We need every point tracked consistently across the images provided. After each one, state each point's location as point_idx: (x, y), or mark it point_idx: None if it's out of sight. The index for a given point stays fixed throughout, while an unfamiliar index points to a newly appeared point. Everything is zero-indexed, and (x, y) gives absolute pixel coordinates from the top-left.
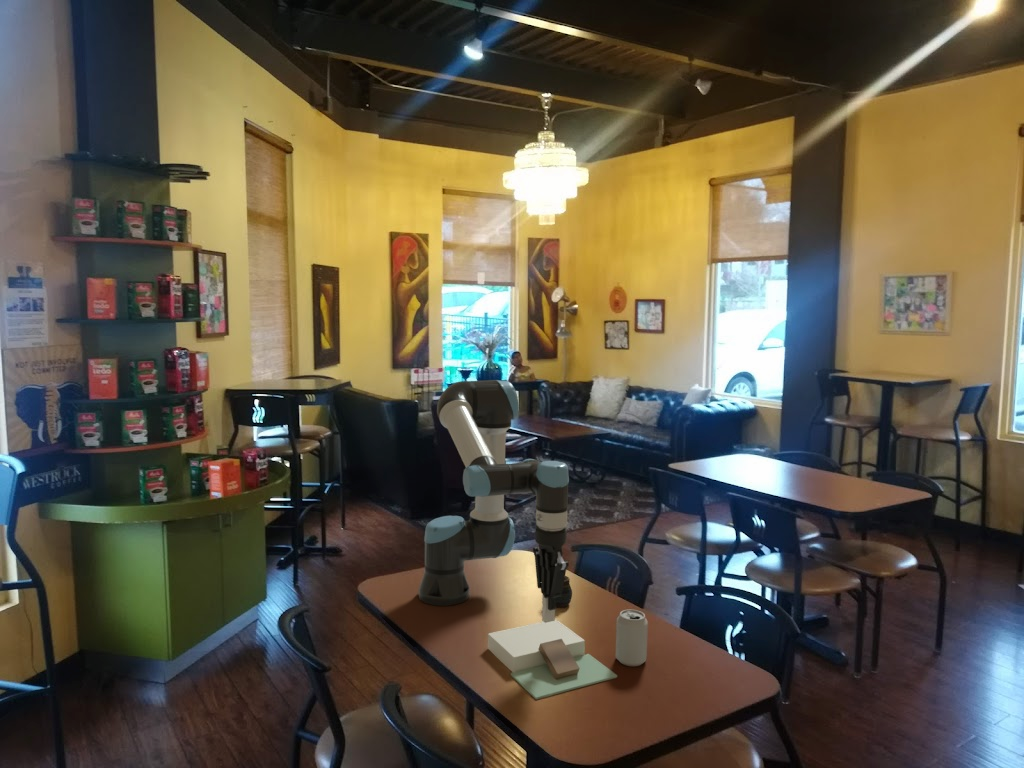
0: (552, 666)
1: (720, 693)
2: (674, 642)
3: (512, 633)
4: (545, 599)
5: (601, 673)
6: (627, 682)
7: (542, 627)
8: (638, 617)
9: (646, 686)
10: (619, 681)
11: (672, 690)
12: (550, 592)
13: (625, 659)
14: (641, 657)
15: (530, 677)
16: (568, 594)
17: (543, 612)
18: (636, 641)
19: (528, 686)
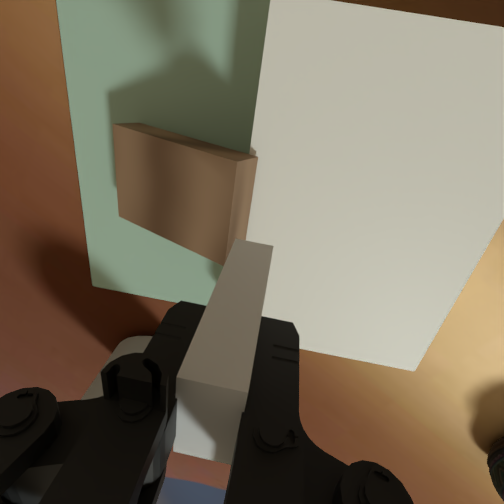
0: (147, 132)
1: None
2: (178, 453)
3: (473, 165)
4: (195, 353)
5: (116, 263)
6: (66, 284)
7: (403, 300)
8: None
9: (36, 301)
10: (76, 273)
11: (6, 326)
12: (78, 453)
13: (125, 344)
14: None
15: (196, 43)
16: (502, 490)
17: (251, 274)
18: None
19: None
